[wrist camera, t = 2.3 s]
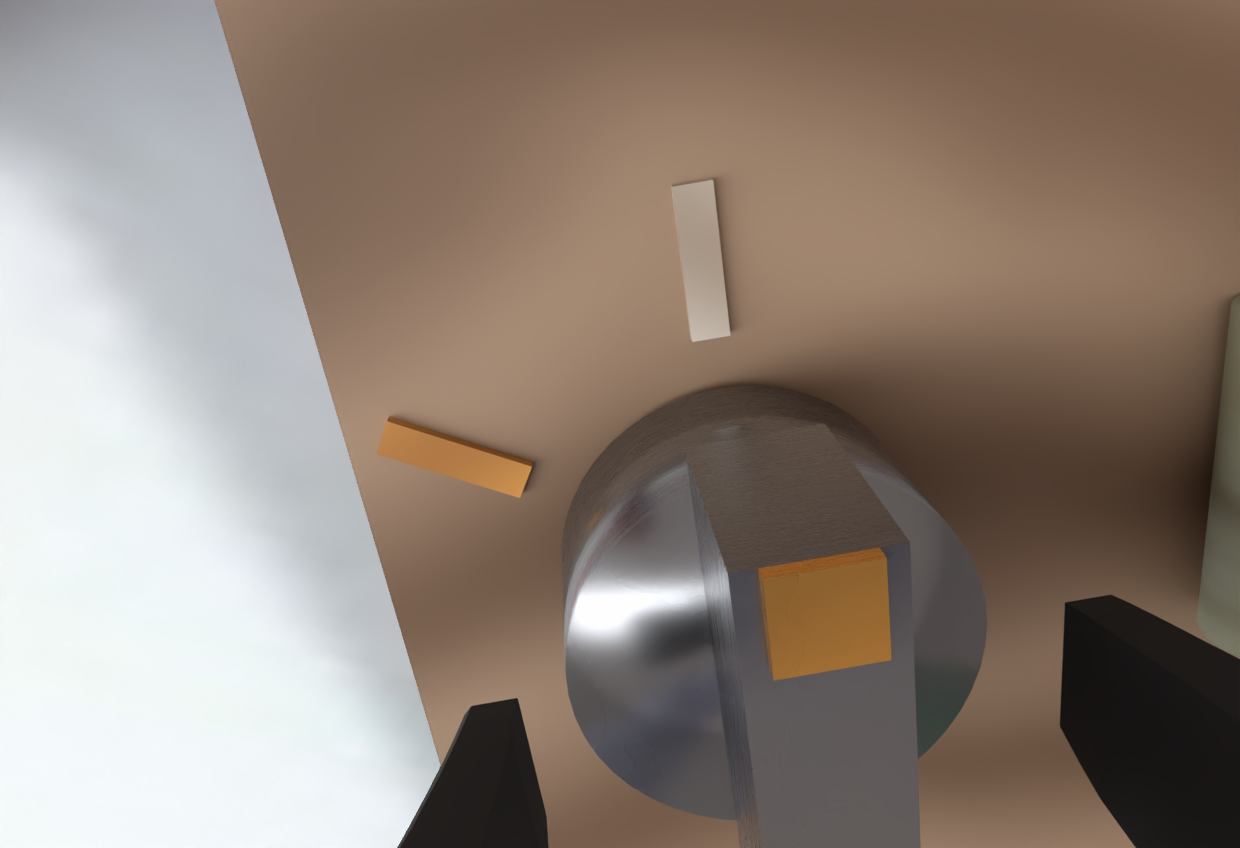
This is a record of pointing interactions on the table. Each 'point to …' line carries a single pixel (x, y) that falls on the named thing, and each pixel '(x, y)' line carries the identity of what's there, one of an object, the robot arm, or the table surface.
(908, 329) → the base
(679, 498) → the wing knob
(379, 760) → the table surface
